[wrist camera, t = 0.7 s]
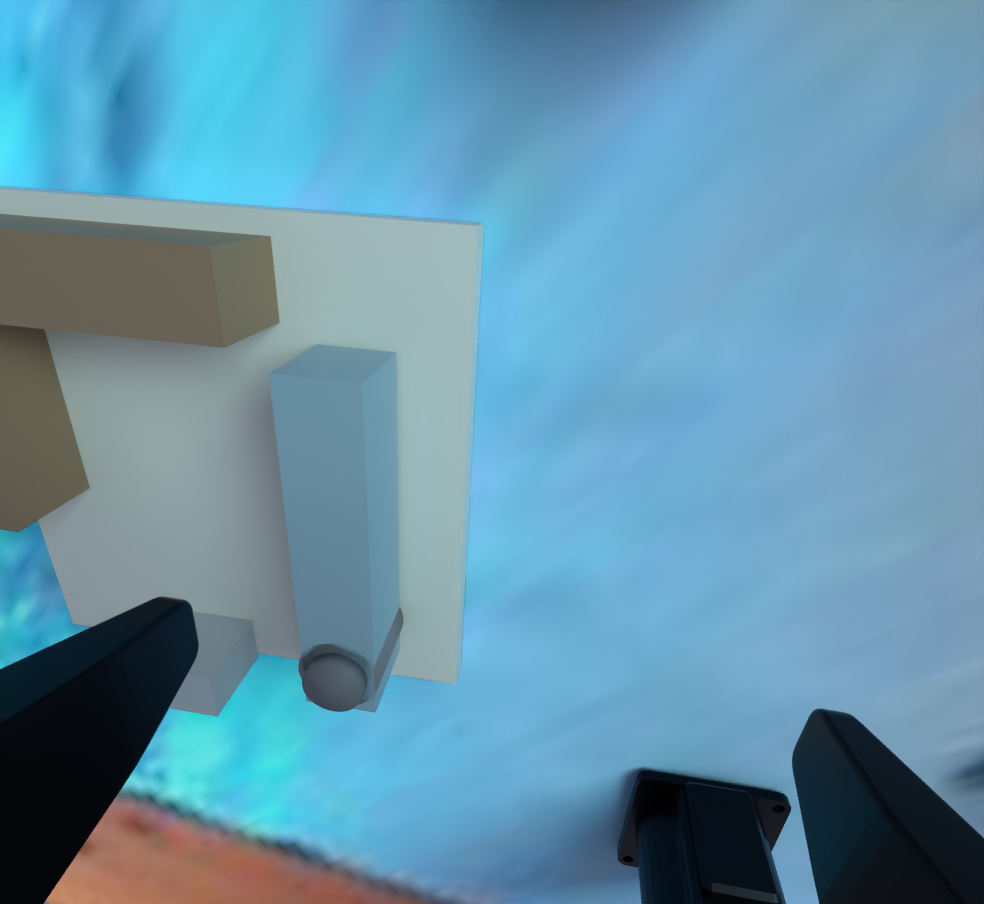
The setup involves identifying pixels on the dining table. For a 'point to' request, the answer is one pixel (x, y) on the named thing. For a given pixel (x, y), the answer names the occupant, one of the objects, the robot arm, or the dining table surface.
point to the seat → (224, 406)
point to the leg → (341, 518)
